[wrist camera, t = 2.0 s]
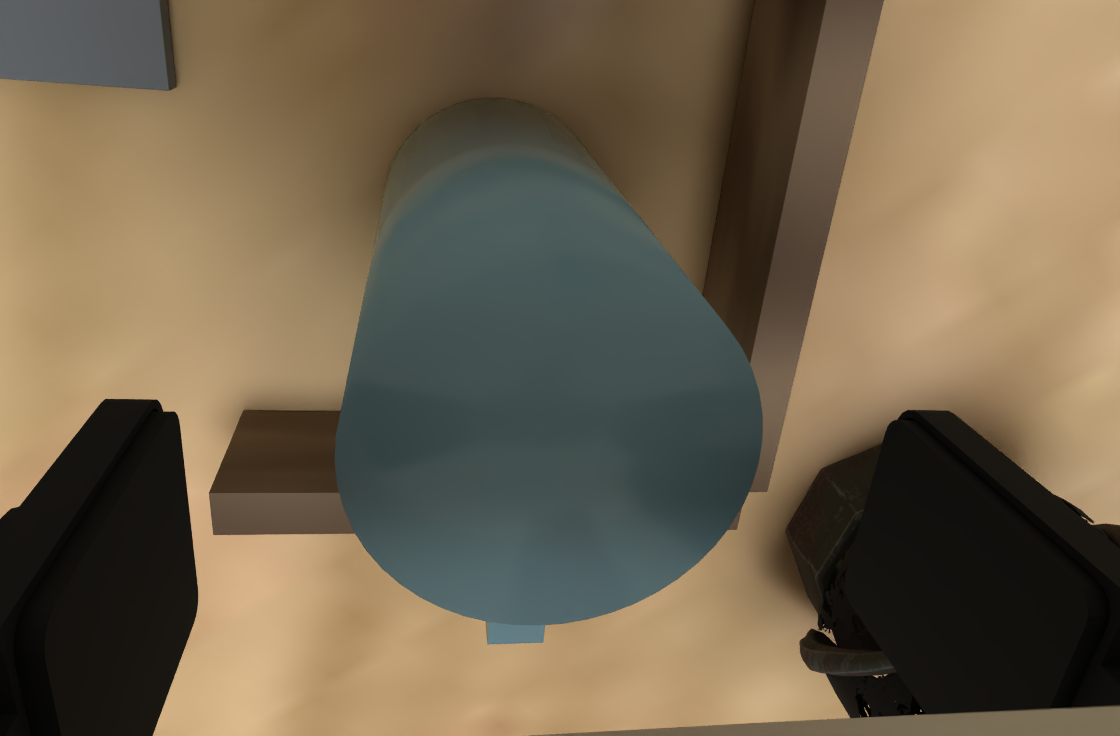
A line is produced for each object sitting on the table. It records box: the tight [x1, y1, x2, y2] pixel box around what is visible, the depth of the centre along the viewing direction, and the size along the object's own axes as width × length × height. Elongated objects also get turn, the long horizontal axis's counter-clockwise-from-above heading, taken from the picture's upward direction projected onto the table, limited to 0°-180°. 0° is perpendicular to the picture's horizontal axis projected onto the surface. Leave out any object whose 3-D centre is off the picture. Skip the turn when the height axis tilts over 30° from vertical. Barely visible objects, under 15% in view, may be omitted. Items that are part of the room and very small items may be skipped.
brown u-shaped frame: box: [209, 0, 884, 535], centre depth 20 cm, size 14×14×4 cm
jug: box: [335, 98, 763, 644], centre depth 17 cm, size 8×6×12 cm
